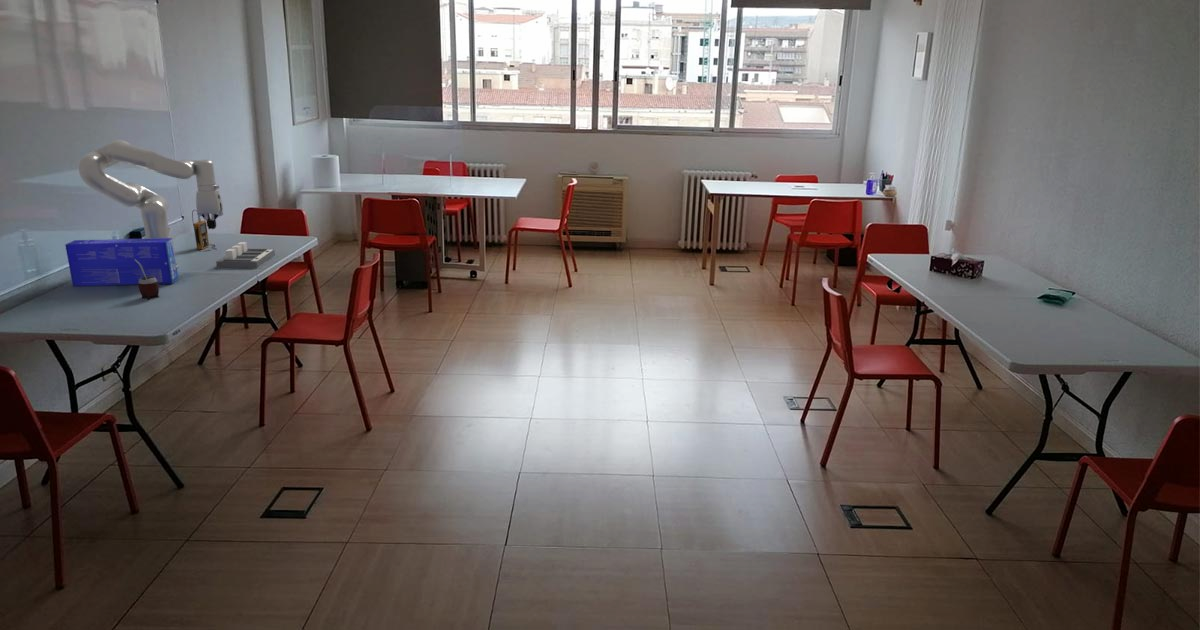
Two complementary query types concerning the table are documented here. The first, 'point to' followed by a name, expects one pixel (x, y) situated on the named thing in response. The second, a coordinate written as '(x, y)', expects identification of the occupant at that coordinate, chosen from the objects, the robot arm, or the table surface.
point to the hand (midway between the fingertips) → (212, 228)
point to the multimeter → (201, 234)
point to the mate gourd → (148, 286)
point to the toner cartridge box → (121, 261)
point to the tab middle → (237, 249)
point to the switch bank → (247, 259)
